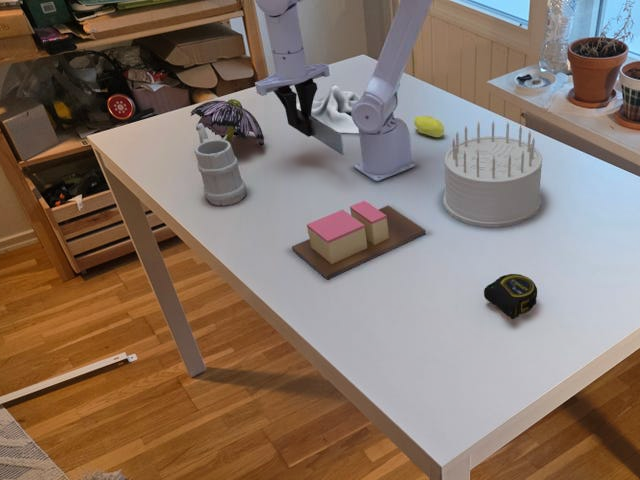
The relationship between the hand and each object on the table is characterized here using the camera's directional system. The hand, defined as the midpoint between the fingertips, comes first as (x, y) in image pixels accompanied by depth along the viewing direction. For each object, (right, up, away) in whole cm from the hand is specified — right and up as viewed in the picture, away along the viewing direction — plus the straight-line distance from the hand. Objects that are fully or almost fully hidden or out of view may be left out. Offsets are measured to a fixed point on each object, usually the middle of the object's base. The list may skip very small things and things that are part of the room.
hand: (301, 122), depth 127 cm
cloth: (+4, +10, +22) cm, 25 cm away
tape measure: (+38, -39, -30) cm, 62 cm away
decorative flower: (-16, -2, +11) cm, 20 cm away
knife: (+3, -4, -2) cm, 6 cm away
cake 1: (+11, -28, -19) cm, 35 cm away
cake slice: (+15, -25, -16) cm, 33 cm away
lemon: (+25, +2, +14) cm, 28 cm away
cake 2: (+37, -17, -7) cm, 41 cm away
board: (+14, -26, -16) cm, 34 cm away
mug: (-14, -14, -2) cm, 21 cm away
